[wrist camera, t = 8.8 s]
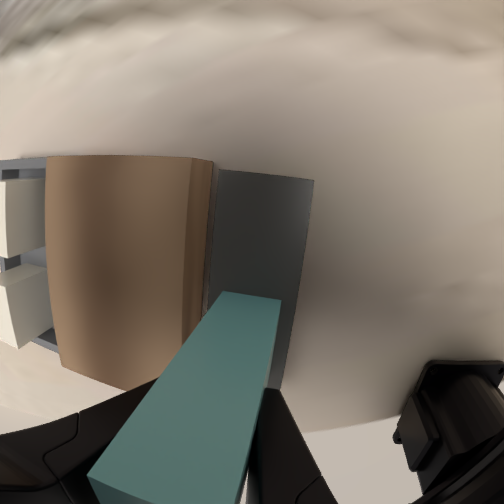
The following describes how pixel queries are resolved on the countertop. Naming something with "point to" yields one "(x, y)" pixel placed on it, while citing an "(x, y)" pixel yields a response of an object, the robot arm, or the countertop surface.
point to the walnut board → (125, 261)
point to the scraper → (219, 356)
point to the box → (36, 256)
